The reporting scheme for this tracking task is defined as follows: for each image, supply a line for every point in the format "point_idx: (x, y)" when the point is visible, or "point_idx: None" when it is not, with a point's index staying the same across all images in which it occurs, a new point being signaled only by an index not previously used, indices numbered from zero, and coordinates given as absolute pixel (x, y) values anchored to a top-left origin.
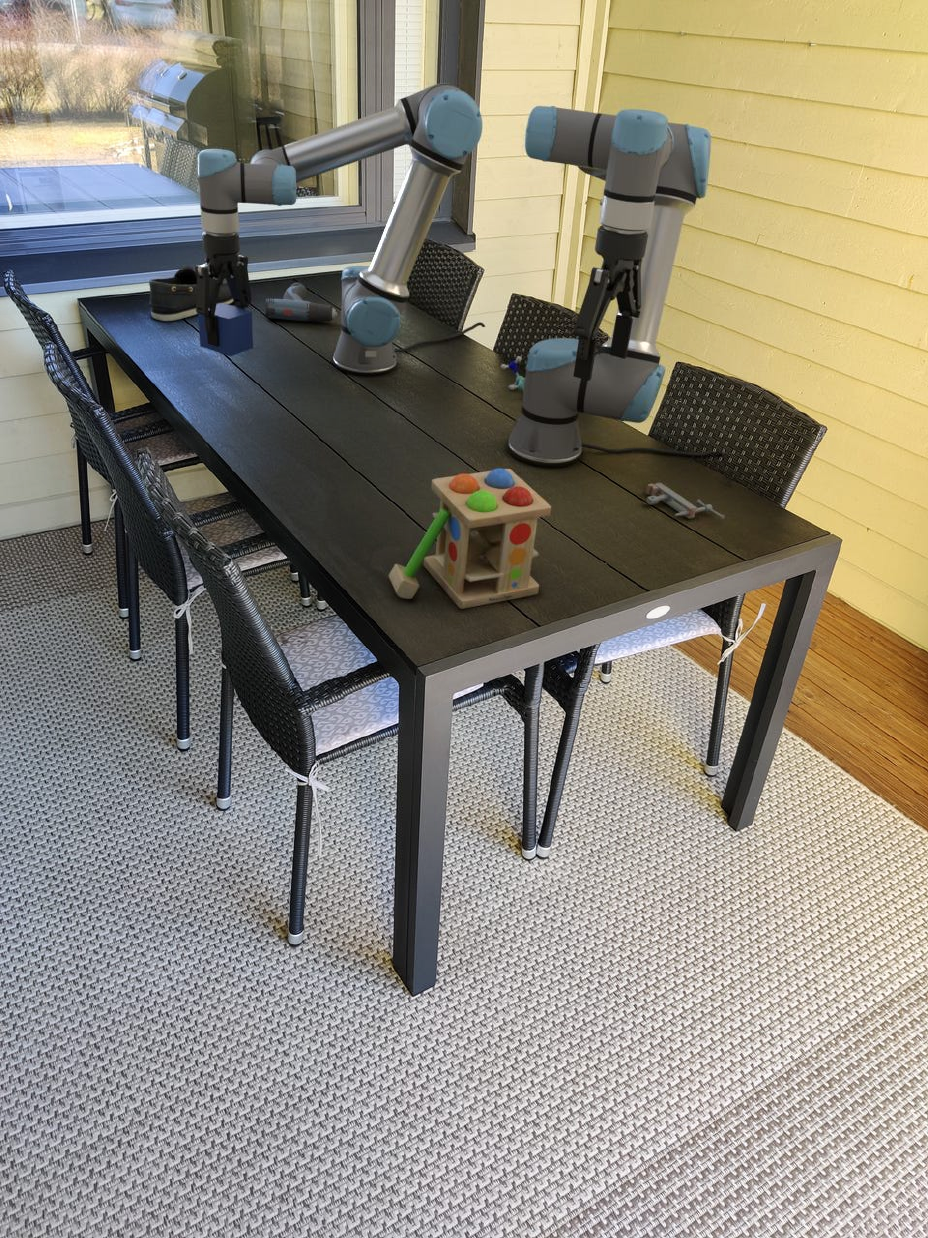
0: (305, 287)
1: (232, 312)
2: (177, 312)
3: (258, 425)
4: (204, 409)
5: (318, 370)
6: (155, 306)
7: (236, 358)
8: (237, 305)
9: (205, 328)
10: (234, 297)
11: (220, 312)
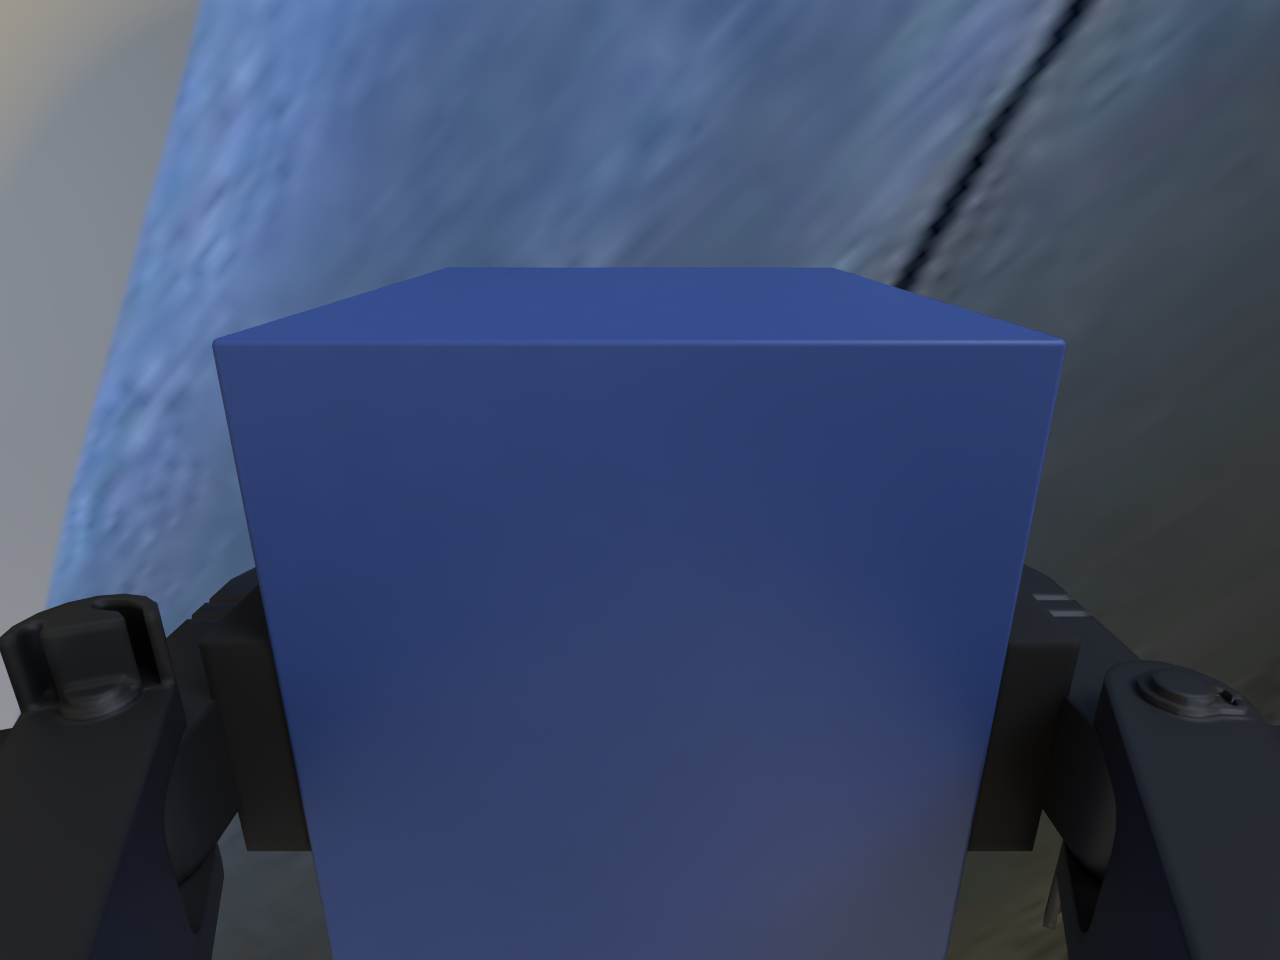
0: None
1: (660, 895)
2: None
3: (309, 885)
4: (210, 583)
5: (1203, 659)
6: None
7: (1115, 57)
8: (1061, 741)
9: (236, 583)
10: (1121, 867)
11: (487, 775)
